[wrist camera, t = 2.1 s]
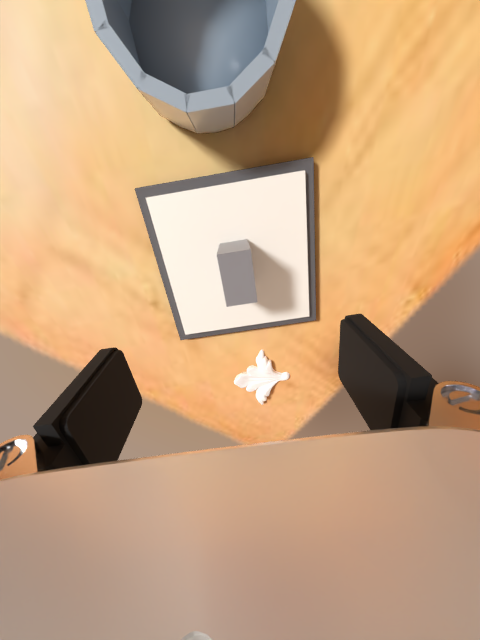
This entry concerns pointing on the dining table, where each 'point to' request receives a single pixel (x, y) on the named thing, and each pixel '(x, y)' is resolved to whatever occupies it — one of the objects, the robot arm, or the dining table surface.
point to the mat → (225, 179)
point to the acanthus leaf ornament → (260, 377)
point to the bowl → (195, 54)
